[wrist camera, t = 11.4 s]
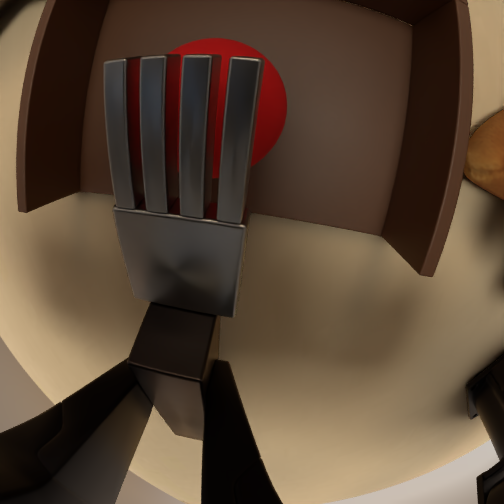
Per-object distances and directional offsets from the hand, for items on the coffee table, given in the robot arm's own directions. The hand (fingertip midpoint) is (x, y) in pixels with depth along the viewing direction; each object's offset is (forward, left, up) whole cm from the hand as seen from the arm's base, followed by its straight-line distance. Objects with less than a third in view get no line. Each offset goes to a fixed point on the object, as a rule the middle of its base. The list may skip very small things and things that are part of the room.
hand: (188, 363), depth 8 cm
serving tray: (+7, -7, -3) cm, 10 cm away
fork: (+1, -1, 0) cm, 1 cm away
